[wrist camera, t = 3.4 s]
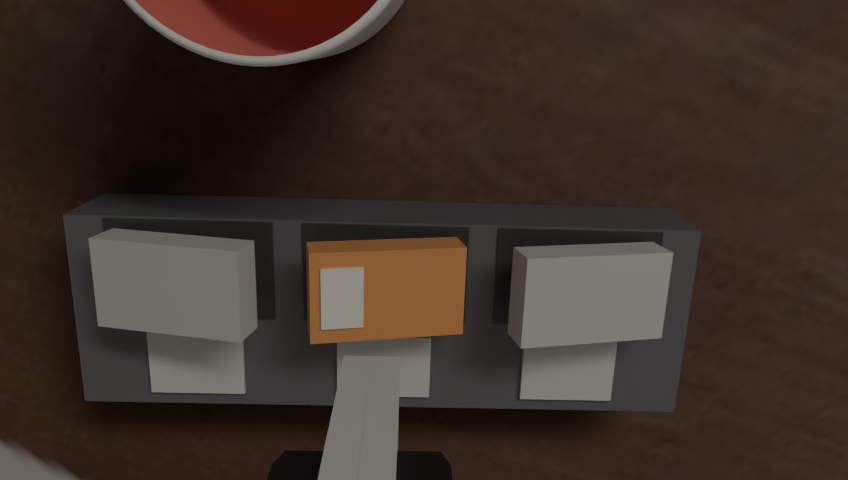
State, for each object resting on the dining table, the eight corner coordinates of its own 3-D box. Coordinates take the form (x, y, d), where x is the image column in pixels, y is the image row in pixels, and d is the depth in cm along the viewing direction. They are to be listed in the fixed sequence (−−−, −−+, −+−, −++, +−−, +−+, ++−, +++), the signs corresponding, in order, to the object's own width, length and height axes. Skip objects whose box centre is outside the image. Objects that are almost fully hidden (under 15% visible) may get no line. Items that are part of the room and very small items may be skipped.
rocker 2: (307, 328, 27) (310, 345, 26) (306, 241, 26) (309, 254, 25) (452, 319, 29) (463, 334, 27) (456, 236, 28) (467, 248, 26)
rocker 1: (121, 312, 28) (97, 326, 27) (112, 228, 27) (88, 238, 26) (257, 327, 27) (240, 342, 26) (254, 240, 26) (236, 251, 25)
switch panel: (122, 359, 34) (82, 403, 30) (105, 193, 31) (60, 215, 27) (644, 370, 34) (675, 414, 30) (666, 207, 32) (703, 232, 28)
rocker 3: (507, 332, 28) (520, 348, 26) (513, 246, 26) (527, 258, 25) (642, 323, 29) (661, 338, 27) (652, 241, 28) (673, 252, 26)
